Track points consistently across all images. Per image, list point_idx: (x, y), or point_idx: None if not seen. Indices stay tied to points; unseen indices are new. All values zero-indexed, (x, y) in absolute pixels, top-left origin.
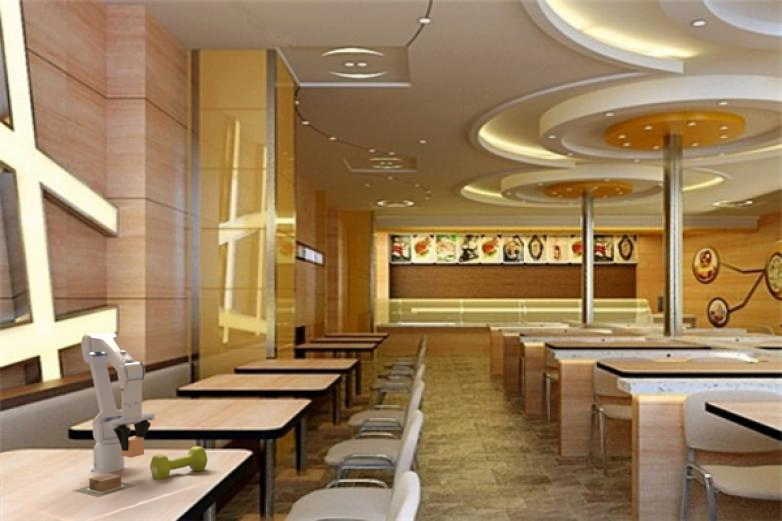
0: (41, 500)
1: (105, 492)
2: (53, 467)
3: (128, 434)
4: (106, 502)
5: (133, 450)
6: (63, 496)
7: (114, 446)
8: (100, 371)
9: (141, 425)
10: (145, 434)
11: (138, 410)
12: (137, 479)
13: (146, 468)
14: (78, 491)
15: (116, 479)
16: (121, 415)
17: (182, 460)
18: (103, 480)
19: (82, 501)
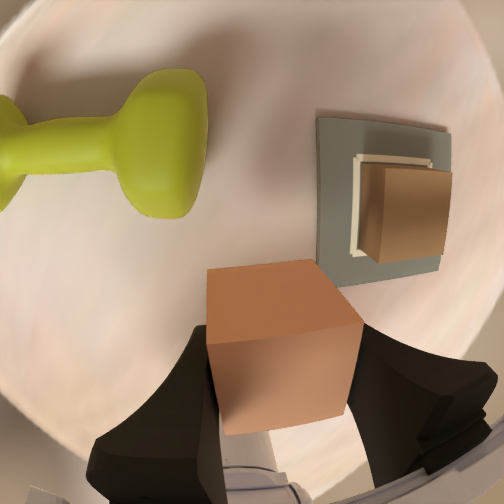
0: (481, 268)
1: (422, 152)
2: (290, 474)
3: (404, 368)
4: (447, 83)
5: (305, 280)
6: (457, 256)
7: (244, 456)
8: None
9: (210, 482)
10: (168, 383)
11: None
12: (239, 230)
13: (133, 343)
14: None
15: (398, 167)
16: None
17: (48, 123)
18: (445, 177)
19: (468, 161)
